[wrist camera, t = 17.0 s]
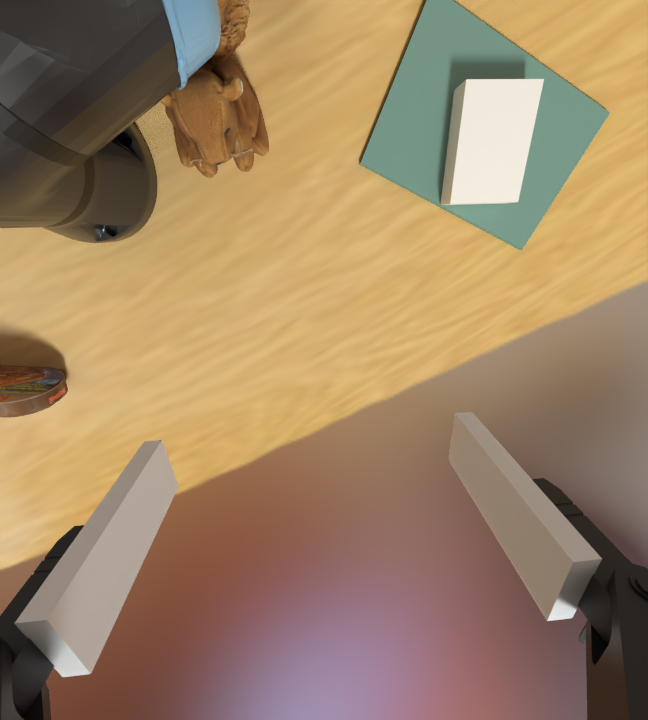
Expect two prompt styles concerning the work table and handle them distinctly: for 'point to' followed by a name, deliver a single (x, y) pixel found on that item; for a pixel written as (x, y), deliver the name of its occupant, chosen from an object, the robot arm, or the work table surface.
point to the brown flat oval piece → (29, 389)
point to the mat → (434, 107)
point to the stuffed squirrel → (219, 105)
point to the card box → (489, 140)
